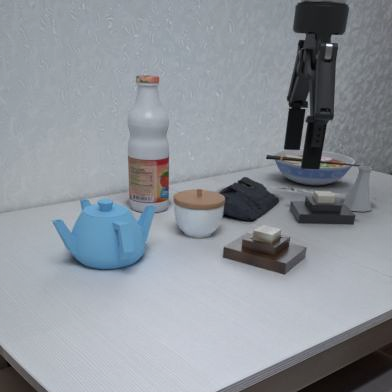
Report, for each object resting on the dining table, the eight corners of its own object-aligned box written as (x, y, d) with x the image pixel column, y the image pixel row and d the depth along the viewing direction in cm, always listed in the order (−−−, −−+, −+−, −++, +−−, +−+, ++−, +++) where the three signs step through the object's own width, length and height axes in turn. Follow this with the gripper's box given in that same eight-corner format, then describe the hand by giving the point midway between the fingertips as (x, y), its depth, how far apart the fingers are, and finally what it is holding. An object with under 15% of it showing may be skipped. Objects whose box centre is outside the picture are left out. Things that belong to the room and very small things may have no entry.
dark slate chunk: (192, 212, 119) (192, 192, 117) (227, 191, 136) (229, 173, 133) (252, 224, 114) (255, 203, 111) (282, 200, 131) (284, 181, 128)
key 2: (329, 199, 120) (330, 191, 119) (333, 205, 117) (335, 196, 116) (312, 199, 120) (314, 190, 119) (317, 204, 117) (318, 195, 115)
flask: (363, 203, 131) (372, 163, 126) (376, 212, 125) (386, 171, 120) (337, 204, 130) (345, 163, 124) (349, 213, 124) (358, 171, 118)
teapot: (51, 267, 90) (44, 208, 84) (85, 238, 103) (80, 185, 97) (133, 278, 88) (131, 218, 82) (157, 247, 100) (157, 193, 94)
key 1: (280, 239, 97) (281, 229, 95) (271, 245, 94) (272, 235, 93) (261, 234, 98) (262, 224, 97) (252, 240, 95) (253, 230, 94)
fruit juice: (126, 202, 124) (122, 73, 109) (164, 200, 126) (164, 74, 111) (133, 214, 116) (128, 78, 101) (172, 212, 119) (174, 78, 103)
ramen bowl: (352, 178, 152) (358, 150, 148) (354, 199, 134) (361, 168, 129) (270, 170, 157) (273, 143, 152) (261, 190, 138) (264, 159, 133)
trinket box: (225, 242, 104) (229, 196, 99) (174, 241, 103) (174, 195, 98) (219, 224, 113) (222, 182, 108) (172, 224, 112) (172, 181, 107)
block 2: (341, 211, 125) (344, 194, 123) (353, 224, 117) (357, 207, 114) (289, 209, 124) (291, 193, 122) (298, 223, 116) (301, 206, 114)
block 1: (305, 257, 99) (308, 238, 97) (284, 274, 92) (287, 254, 89) (246, 242, 104) (248, 223, 102) (222, 257, 97) (224, 237, 95)
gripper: (280, 2, 81) (265, 142, 93) (319, -4, 60) (293, 177, 72) (325, 5, 82) (305, 143, 93) (380, -1, 61) (345, 178, 72)
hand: (300, 158), depth 83 cm, fingers open, 13 cm apart
